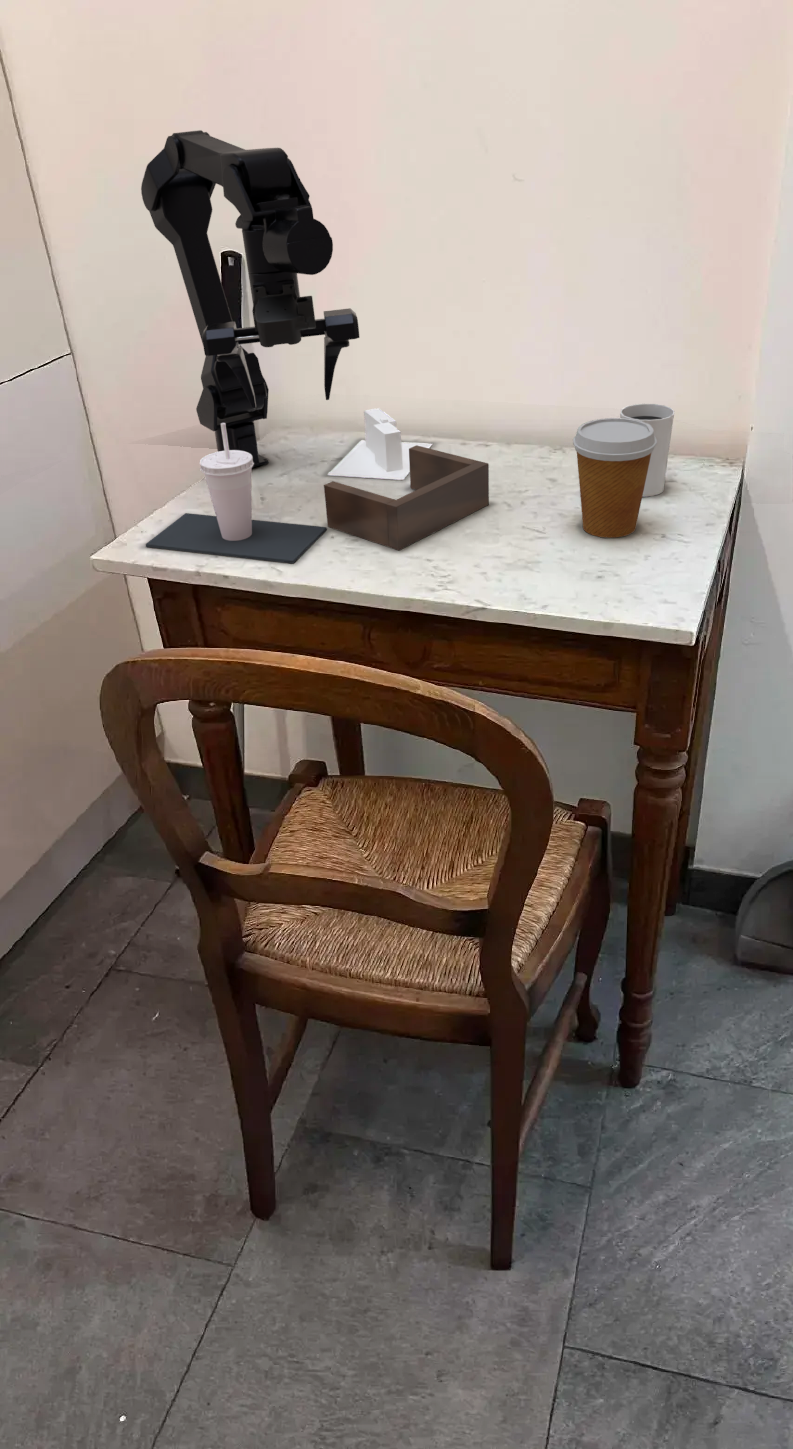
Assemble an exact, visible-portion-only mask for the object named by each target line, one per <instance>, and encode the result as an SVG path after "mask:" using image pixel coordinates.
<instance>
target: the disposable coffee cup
mask: <svg viewBox="0 0 793 1449" xmlns="http://www.w3.org/2000/svg"><path fill="white" fill-rule="evenodd" d="M656 443H657V439H656V438H655V436H654V432H653V428H652V426H650V425H649V424H647V423H645V422H642V421H639V420H634V419H627V418H620V417H605V418H604V417H603V418H597V419H592V420H589V421H588V420H587V421H586V422H584V423H582V424H580V425H579V426H578V428H576V433H575V436H574V437H573V438H572V445H573V447H574V450H575V452H576V459H577V472H578V483H579V484H578V485H579V498H580V507H581V521H582V529H583V530H584V531H585V532H586V533H587V534H589V535H591V536H595V537H599V538H607V539H608V538H611V539H612V538H621V537H626V536H628V535H631V534H632V533H634V532H635V531H636V529H637V523H638V519H639V515H640V510H641V505H642V499H643V497H642V495H643V491H644V486H645V481H646V476H647V472H648V467H649V462H650V457H651V453H652V451H653V450H654V447H655V446H656Z"/></svg>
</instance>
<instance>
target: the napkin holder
mask: <svg viewBox="0 0 793 1449" xmlns="http://www.w3.org/2000/svg"><path fill="white" fill-rule="evenodd" d="M363 418H364V420H363V421H364V433H365V434H364V436H365V439H361V440H360V441H358V443H357V444H356V445H355V446H353V448H352V449H351V450H350V451H349V452H348V453H347V454H346V455H345V456H344V457H343V458H342V459H341V460H340V461H339V462H338V463H337V464H336V465H335V466H334V467H333V468H332V469H331V471H329V472H328V473H327V476H333V477H334V476H335V477H350V478H365V479H382V480H396V481H397V480H398V481H404V480H405V479H406V478H407V476H408V475H410V464H409V448H412V447H414V446H416V445H417V446H421V447H425V448H429V449H431V447H432V445H433V443H430V442H429V443H428V442H427V443H426V442H411V441H410V442H408V441H402V431H401V430H400V429H398V428H397V427H398V426H397V420H396V419H394V417H392V416H390V415H389V414H388V413H386V412H385V411H384V410H382V409H381V408H380V407H377V408H371V409H365V410H363Z"/></svg>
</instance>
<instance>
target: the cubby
mask: <svg viewBox="0 0 793 1449" xmlns="http://www.w3.org/2000/svg"><path fill="white" fill-rule="evenodd" d="M409 464H410V472H409V478H410V479H409V483H410V489H412V490H414V491H411V492H409V493H407V494H405V495H403V496H401V497H399V498H397V499H394V498H391V497H388V496H385V495H381V494H379V493H374V492H371V491H368V490H365V489H360V488H357V487H355V486H350V485H348V484H344V483H340V482H337V481H334V480H332V481H330V482H327V483H325V484H323V490H324V502H325V512H326V522H327V528H330V529H334V530H336V531H339V532H342V533H344V534H345V533H346V534H349V535H351V536H355V537H357V538H360V539H364V540H366V541H370V542H373V543H376V544H378V545H381V546H383V547H387V548H391V549H393V550H397V551H401V550H402V549H405V548H406V547H409V546H410V545H412V544H414V543H417V542H419V541H421V540H422V539H424V538H427V537H428V536H430V535H433V534H434V533H436V532H438V531H440V530H442V529H444V528H445V527H448V526H450V525H452V524H453V523H456V522H458V521H461V520H462V519H464V518H465V517H468V516H469V515H471V514H473V513H475V512H478V511H479V510H481V509H483V508H485V507H487V506H489V505H490V469H489V468H490V464H489V463H488V462H484V461H481V460H476V459H473V458H469V457H465V456H461V455H457V454H453V453H449V452H444V451H441V450H437V449H432V448H425V447H421V446H417V445H416V446H414V447H412V448H409Z"/></svg>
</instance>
